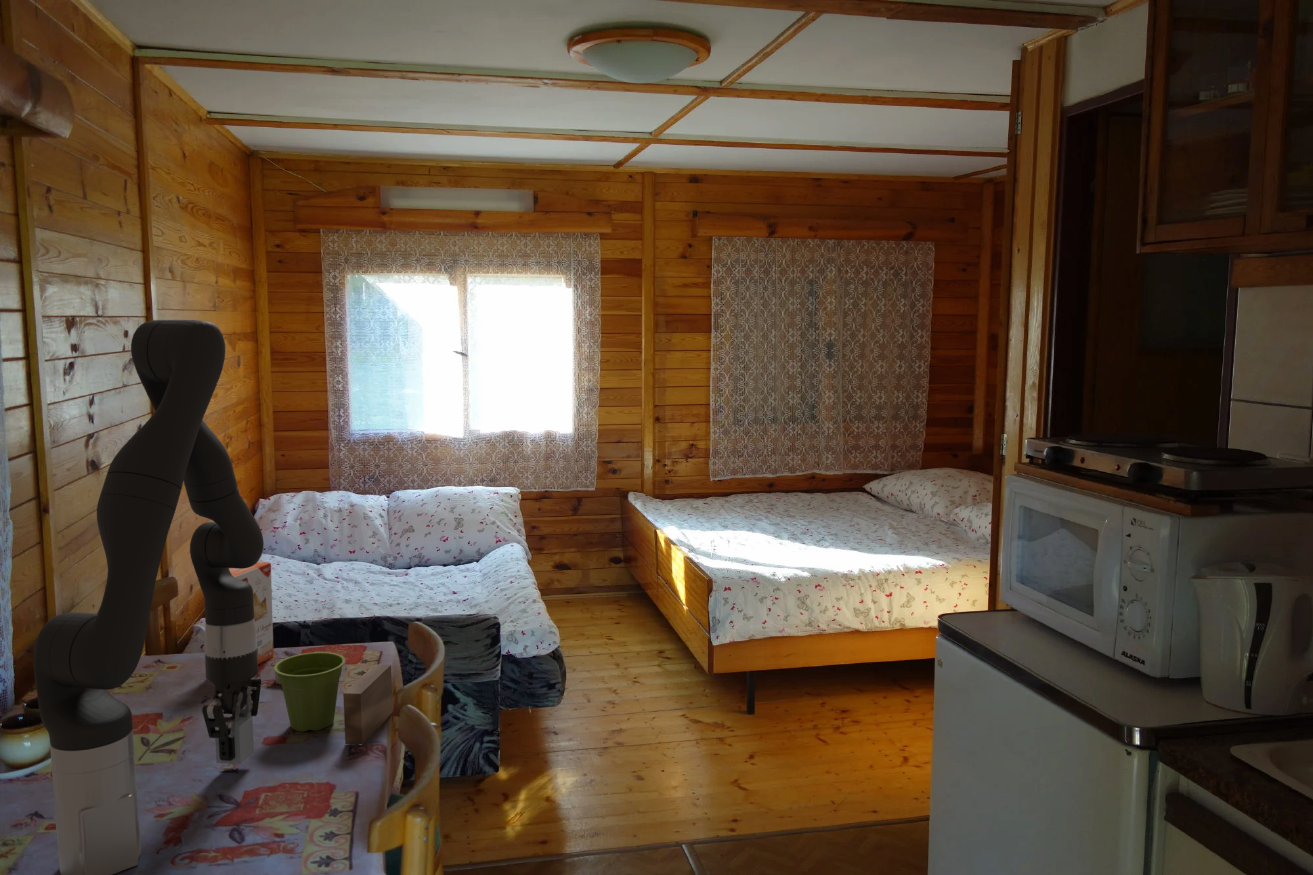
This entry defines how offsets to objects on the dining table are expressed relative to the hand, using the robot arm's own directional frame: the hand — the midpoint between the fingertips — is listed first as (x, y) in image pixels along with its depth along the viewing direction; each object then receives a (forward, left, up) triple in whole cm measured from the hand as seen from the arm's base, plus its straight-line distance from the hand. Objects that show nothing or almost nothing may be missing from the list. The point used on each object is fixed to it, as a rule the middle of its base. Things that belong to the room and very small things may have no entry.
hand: (235, 752), depth 150 cm
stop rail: (-1, -23, -3) cm, 23 cm away
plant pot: (+8, -17, -3) cm, 19 cm away
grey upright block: (0, 0, -1) cm, 1 cm away
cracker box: (+46, -21, -3) cm, 51 cm away
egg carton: (+30, -26, -3) cm, 40 cm away
